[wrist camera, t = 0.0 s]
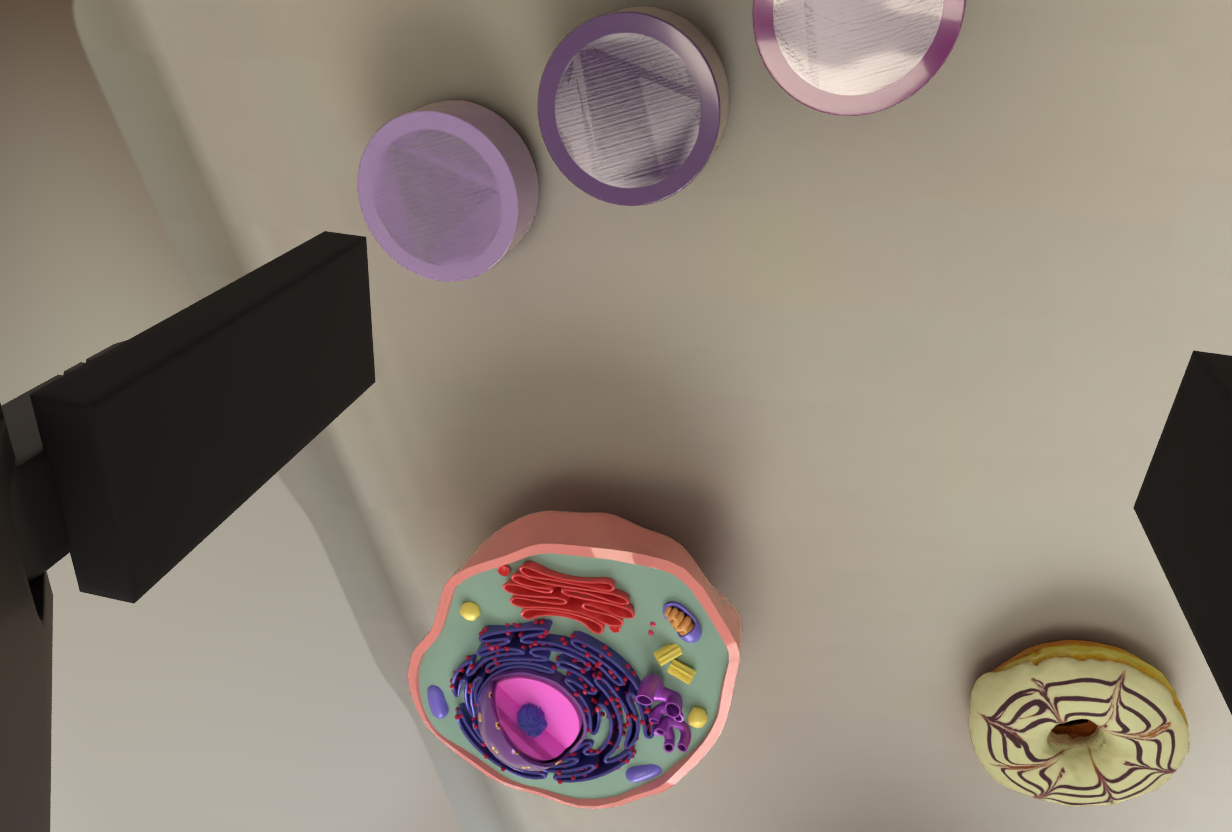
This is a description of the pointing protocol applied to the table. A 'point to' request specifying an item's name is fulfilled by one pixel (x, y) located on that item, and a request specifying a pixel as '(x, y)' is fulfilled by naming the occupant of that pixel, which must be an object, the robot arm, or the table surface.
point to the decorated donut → (1087, 752)
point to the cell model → (579, 659)
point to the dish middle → (633, 105)
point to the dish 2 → (855, 49)
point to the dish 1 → (448, 189)
